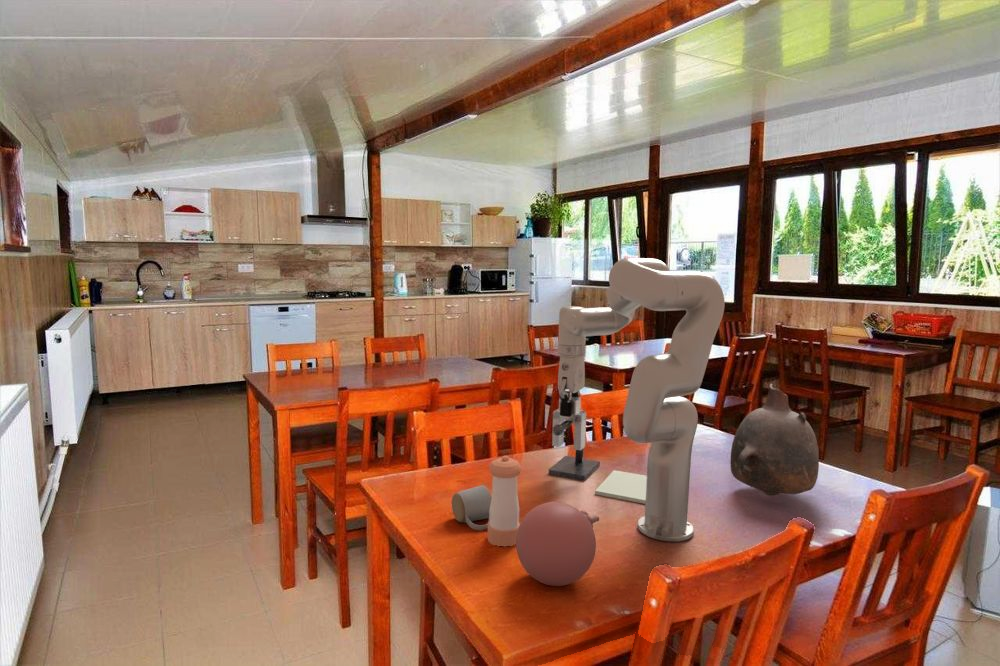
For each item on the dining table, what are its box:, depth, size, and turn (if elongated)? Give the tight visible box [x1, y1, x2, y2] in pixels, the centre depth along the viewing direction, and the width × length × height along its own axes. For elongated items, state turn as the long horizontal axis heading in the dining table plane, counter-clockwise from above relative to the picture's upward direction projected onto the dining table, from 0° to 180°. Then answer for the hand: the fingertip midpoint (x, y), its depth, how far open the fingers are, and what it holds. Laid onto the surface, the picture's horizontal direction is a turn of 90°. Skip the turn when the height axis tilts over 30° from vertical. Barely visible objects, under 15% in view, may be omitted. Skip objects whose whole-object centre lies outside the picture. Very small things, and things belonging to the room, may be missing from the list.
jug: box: [729, 383, 820, 497], centre depth 163 cm, size 24×21×30 cm
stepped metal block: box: [551, 397, 587, 451], centre depth 174 cm, size 4×8×14 cm, turn 64°
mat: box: [594, 469, 647, 505], centre depth 168 cm, size 18×18×1 cm
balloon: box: [515, 501, 600, 587], centre depth 120 cm, size 15×20×15 cm
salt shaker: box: [487, 455, 522, 547], centre depth 136 cm, size 7×7×19 cm
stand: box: [548, 409, 601, 482], centre depth 176 cm, size 24×11×18 cm, turn 154°
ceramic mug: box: [451, 484, 492, 531], centre depth 145 cm, size 11×8×8 cm
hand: (569, 412), depth 174 cm, fingers open, 5 cm apart
